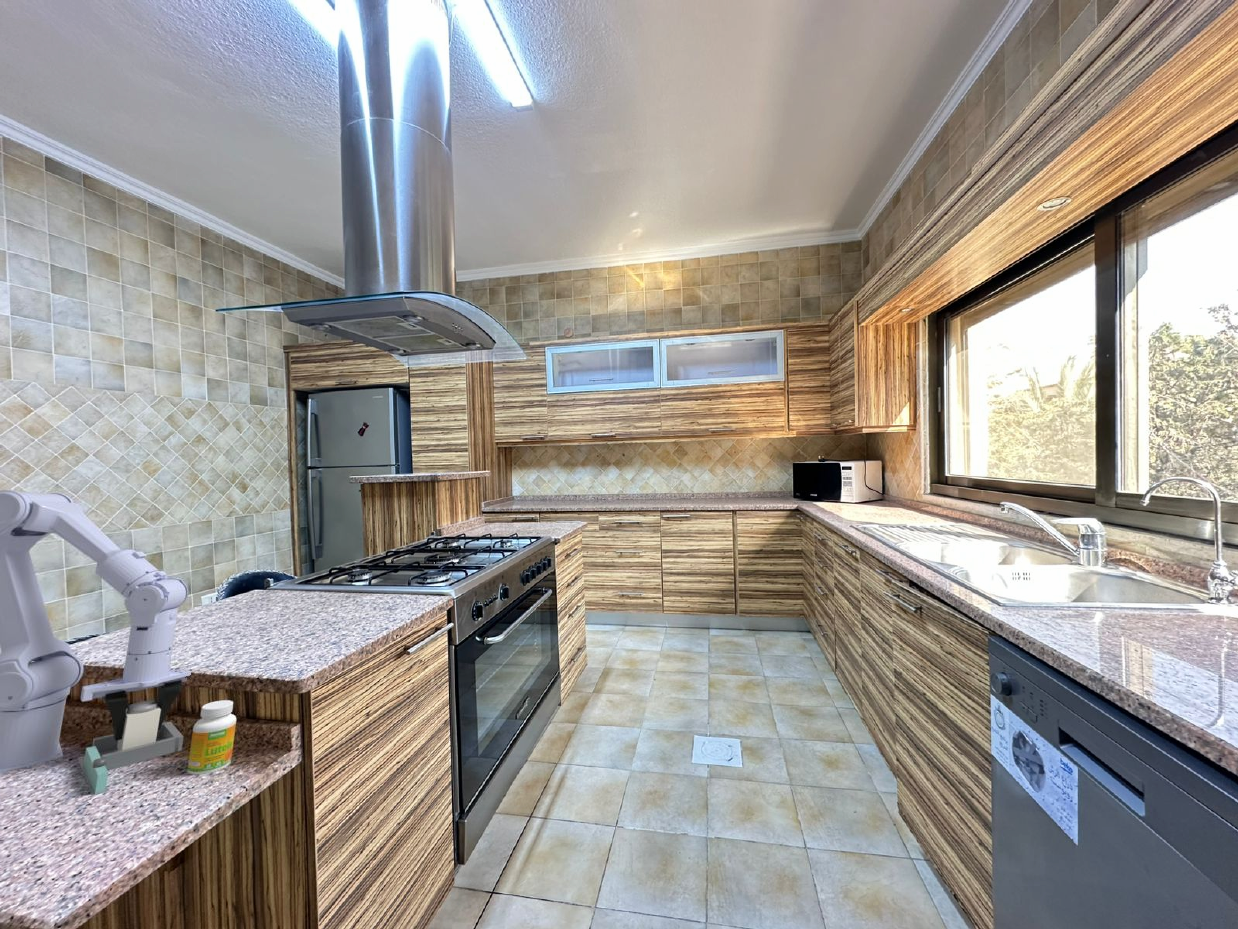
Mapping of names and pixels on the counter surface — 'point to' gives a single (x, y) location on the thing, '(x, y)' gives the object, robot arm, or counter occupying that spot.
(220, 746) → the supplement bottle
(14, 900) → the counter surface
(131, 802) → the counter surface
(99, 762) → the teal long flat bar
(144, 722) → the cream block with knob
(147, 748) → the housing
